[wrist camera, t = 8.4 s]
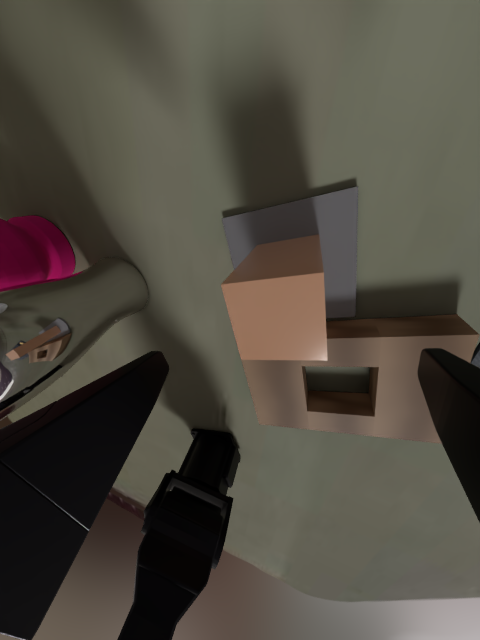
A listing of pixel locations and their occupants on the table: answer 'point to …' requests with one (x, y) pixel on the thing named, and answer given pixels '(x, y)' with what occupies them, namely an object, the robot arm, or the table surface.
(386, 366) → the pocket board
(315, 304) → the block
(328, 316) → the pad
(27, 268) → the pepper mill
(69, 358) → the beer glass
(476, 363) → the dark blue flat slab
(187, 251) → the table surface
